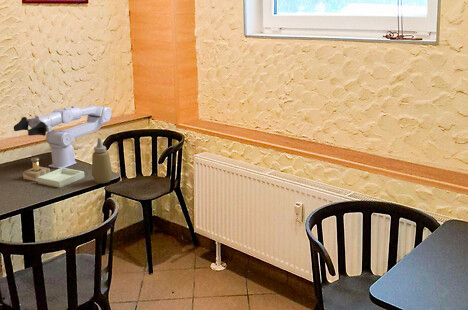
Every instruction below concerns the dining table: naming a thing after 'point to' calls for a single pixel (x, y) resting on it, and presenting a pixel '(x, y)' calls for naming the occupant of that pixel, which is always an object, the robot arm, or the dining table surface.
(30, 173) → the lock block
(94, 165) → the squeeze bottle
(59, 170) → the tray
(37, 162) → the pin
